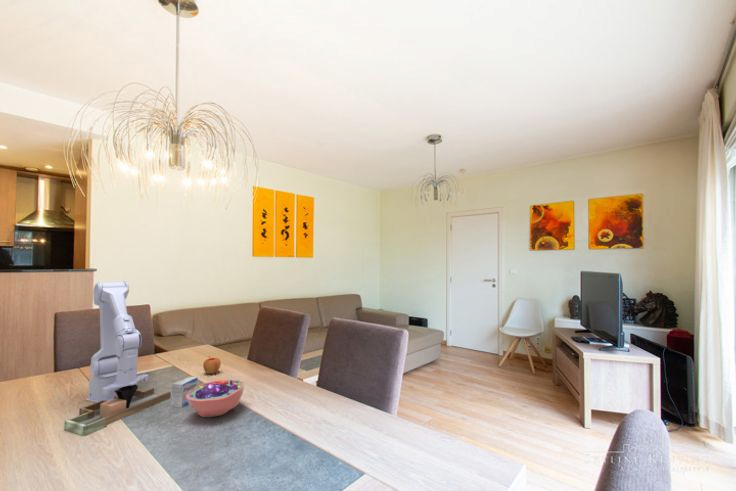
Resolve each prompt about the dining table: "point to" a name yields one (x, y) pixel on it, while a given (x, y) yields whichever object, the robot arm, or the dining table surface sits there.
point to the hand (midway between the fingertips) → (125, 407)
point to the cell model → (215, 397)
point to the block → (112, 407)
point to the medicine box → (182, 391)
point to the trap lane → (91, 414)
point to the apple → (211, 365)
